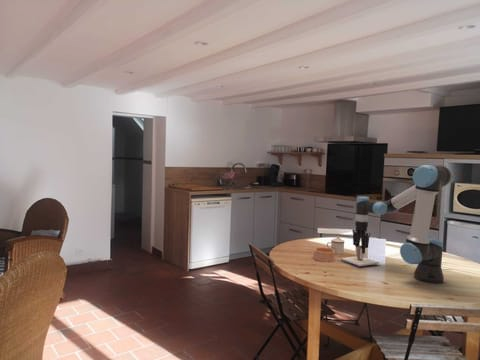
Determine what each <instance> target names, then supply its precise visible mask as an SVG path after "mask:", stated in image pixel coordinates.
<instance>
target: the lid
mask: <svg viewBox="0 0 480 360" xmlns="http://www.w3.org/2000/svg"><path fill="white" fill-rule="evenodd" d="M361 248H362V246H361V245H359V246H358V256H357V257H356V255H355V256H347V257H341V258H340V260H344V261H347V262H350V263H352V264H355V265H358V266H365V265H373V264H378V265H380V264H379V261H377V260H374V259H372V258H371V259H370V258H367V257H365V256H364V258H363V259H360V249H361Z"/></svg>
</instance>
